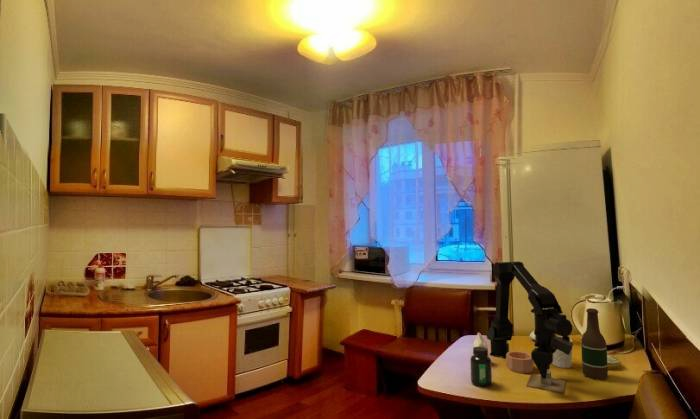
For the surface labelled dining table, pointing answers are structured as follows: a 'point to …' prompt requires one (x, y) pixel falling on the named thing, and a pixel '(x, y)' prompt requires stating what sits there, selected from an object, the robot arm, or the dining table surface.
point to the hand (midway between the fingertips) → (545, 373)
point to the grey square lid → (546, 383)
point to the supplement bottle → (481, 368)
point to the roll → (480, 342)
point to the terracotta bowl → (519, 362)
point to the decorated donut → (613, 362)
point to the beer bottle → (594, 349)
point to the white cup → (562, 359)
